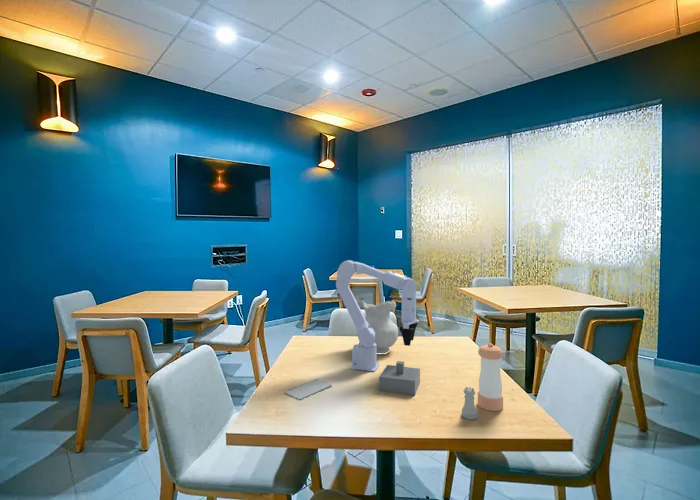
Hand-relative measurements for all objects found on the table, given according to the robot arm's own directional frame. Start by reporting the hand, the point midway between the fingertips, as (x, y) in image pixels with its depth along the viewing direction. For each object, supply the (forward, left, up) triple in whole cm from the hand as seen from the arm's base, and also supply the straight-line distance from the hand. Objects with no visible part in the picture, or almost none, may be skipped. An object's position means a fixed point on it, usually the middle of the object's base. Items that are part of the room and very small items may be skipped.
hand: (408, 342), depth 140 cm
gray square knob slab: (0, -18, -10) cm, 21 cm away
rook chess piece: (+23, -33, -11) cm, 42 cm away
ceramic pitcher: (-19, +19, -11) cm, 29 cm away
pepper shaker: (+29, -24, -11) cm, 39 cm away
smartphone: (-29, -31, -11) cm, 44 cm away
